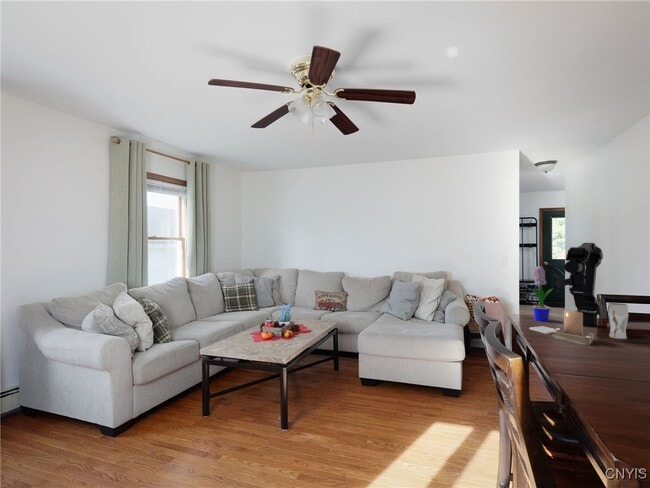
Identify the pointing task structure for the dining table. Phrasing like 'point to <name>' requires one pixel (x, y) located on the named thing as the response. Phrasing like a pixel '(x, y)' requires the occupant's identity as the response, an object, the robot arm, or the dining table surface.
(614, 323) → the beer glass
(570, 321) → the peach tapered rounded piece
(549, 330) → the tile
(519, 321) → the dining table surface
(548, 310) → the hyacinth
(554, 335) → the frame
